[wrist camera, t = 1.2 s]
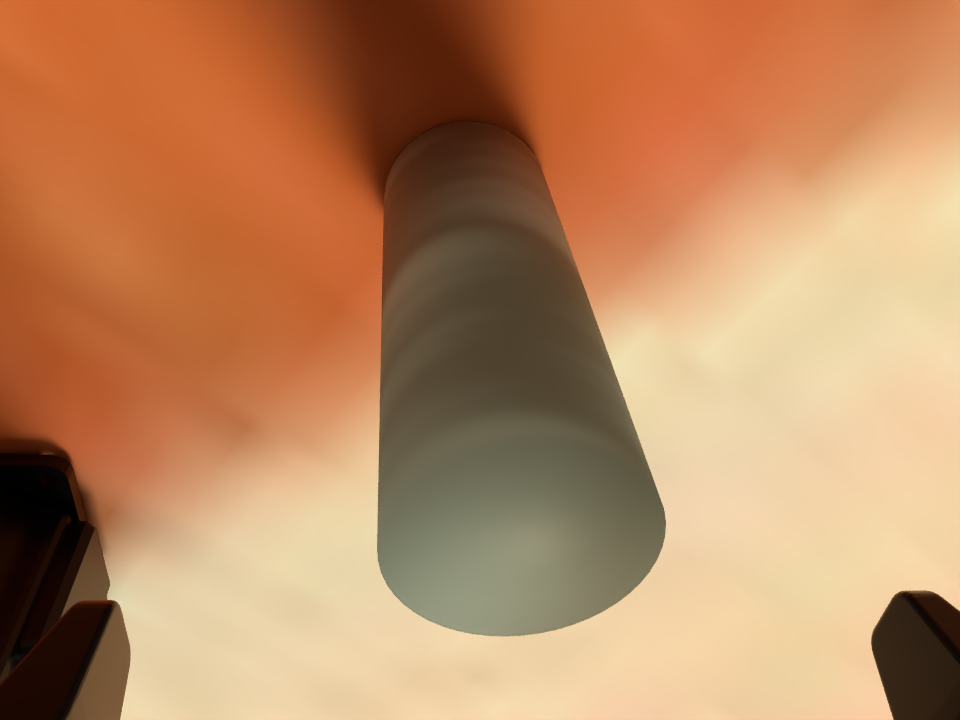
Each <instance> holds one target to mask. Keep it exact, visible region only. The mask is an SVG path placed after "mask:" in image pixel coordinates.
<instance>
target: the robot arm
mask: <svg viewBox="0 0 960 720" xmlns="http://www.w3.org/2000/svg"><path fill="white" fill-rule="evenodd" d="M46 472H48V473H52V474H54V475H56V476H53V475H49V474H47V473H46ZM109 587H110V581H109V577H108V573H107V569H106V565H105V561H104V557H103V554H102V550H101V546H100V542H99V538H98V534H97V530H96V528H95V527H94V526H93V524H92V523H91V522H90V521H87V520H86V516H85V512H84V508H83V504H82V501H81V497H80V493H79V489H78V485H77V481H76V477H75V474H74V470H73V468H72V466H71V464H70V463H69V462H68V461H67V460H65V459H63V458H61V457H59V456H54V455H27V454H0V720H120V717H121V712H122V706H123V700H124V695H125V689H126V684H127V678H128V673H129V667H130V644H129V640H128V636H127V632H126V628H125V623H124V619H123V615H122V611H121V608H120V606H119V604H118V603H117V602H116V601H113V600H107V597H106V596H107V593H108V590H109ZM871 644H872V651H873V655H874V658H875V662H876V665H877V668H878V671H879V674H880V678H881V681H882V684H883V687H884V691H885V694H886V697H887V700H888V703H889V707H890V710H891V713H892V716H893V720H960V611H959V610H958V609H956V608H955V607H954V606H952V605H951V604H950V603H949V602H947V601H946V600H945V599H943V598H942V597H941V596H939V595H938V594H936V593H934V592H931V591H900V592H899V593H897V594H895V595H894V597H893V598H892V600H891V601H890V603H889V605H888V606H887V608H886V610H885V611H884V613H883V615H882V616H881V618H880V620H879V621H878V623H877V625H876V627H875V628H874V630H873V633H872V640H871Z"/></svg>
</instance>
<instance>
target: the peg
mask: <svg viewBox="0 0 960 720" xmlns="http://www.w3.org/2000/svg"><path fill="white" fill-rule="evenodd" d="M665 528H666V520H665V513H664V508H663V505H662V502H661V499H660V497H659V494H658V491H657V488H656V486H655V483H654V480H653V477H652V474H651V472H650V469H649V466H648V463H647V461H646V458H645V455H644V452H643V449H642V447H641V444H640V441H639V438H638V436H637V433H636V430H635V427H634V424H633V422H632V419H631V416H630V413H629V411H628V408H627V405H626V402H625V400H624V397H623V394H622V391H621V388H620V386H619V383H618V380H617V377H616V375H615V372H614V369H613V366H612V363H611V361H610V358H609V355H608V352H607V350H606V347H605V344H604V341H603V338H602V336H601V333H600V330H599V327H598V325H597V322H596V319H595V316H594V313H593V311H592V308H591V305H590V302H589V300H588V297H587V294H586V291H585V288H584V286H583V283H582V280H581V277H580V275H579V272H578V269H577V266H576V263H575V261H574V258H573V255H572V252H571V250H570V247H569V244H568V241H567V239H566V236H565V233H564V230H563V227H562V225H561V222H560V219H559V216H558V214H557V211H556V208H555V205H554V202H553V200H552V197H551V194H550V191H549V189H548V186H547V183H546V180H545V177H544V175H543V172H542V169H541V166H540V164H539V162H538V161H537V159H536V157H535V155H534V154H533V153H532V151H531V150H530V149H529V148H528V147H527V146H526V145H525V143H524V142H523V141H521V140H520V139H519V138H517V137H516V136H515V135H513V134H512V133H510V132H508V131H507V130H505V129H502V128H500V127H498V126H495V125H492V124H488V123H484V122H476V121H459V122H451V123H447V124H443V125H440V126H437V127H435V128H432V129H430V130H428V131H426V132H424V133H422V134H421V135H419V136H418V137H416V138H415V139H414V140H412V141H411V142H410V143H409V144H408V145H407V146H406V147H405V148H404V149H403V150H402V151H401V153H400V154H399V155H398V157H397V158H396V160H395V161H394V163H393V165H392V167H391V169H390V171H389V174H388V176H387V180H386V184H385V191H384V223H383V275H382V327H381V378H380V430H379V482H378V534H377V552H378V562H379V566H380V570H381V573H382V575H383V577H384V579H385V581H386V584H387V585H388V587H389V588H390V589H391V591H392V592H393V594H394V595H395V596H396V597H397V598H398V599H399V600H400V601H401V602H402V603H403V604H404V605H405V606H407V607H408V608H409V609H411V610H412V611H413V612H415V613H416V614H418V615H420V616H421V617H423V618H425V619H427V620H429V621H431V622H433V623H436V624H438V625H440V626H443V627H446V628H450V629H453V630H456V631H461V632H466V633H470V634H477V635H486V636H521V635H530V634H537V633H543V632H548V631H552V630H557V629H560V628H564V627H567V626H570V625H573V624H576V623H579V622H581V621H584V620H586V619H589V618H591V617H593V616H595V615H597V614H599V613H601V612H603V611H605V610H606V609H608V608H609V607H611V606H613V605H614V604H616V603H617V602H619V601H620V600H621V599H623V598H624V597H625V596H627V595H628V594H629V593H630V592H631V591H632V590H633V589H634V588H635V587H637V586H638V585H639V584H640V583H641V581H642V580H643V579H644V578H645V577H646V575H647V574H648V573H649V572H650V570H651V569H652V567H653V565H654V564H655V562H656V560H657V558H658V556H659V554H660V551H661V549H662V546H663V542H664V537H665Z"/></svg>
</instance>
